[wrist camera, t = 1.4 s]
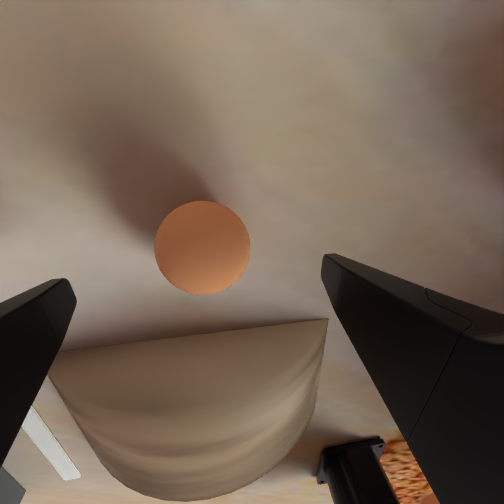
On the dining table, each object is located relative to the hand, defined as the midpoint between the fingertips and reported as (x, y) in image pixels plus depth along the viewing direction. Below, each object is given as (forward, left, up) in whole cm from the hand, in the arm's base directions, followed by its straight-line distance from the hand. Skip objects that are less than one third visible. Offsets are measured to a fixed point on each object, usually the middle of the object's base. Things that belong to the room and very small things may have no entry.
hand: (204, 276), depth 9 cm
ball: (0, 0, -2) cm, 2 cm away
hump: (-12, +1, -22) cm, 25 cm away
